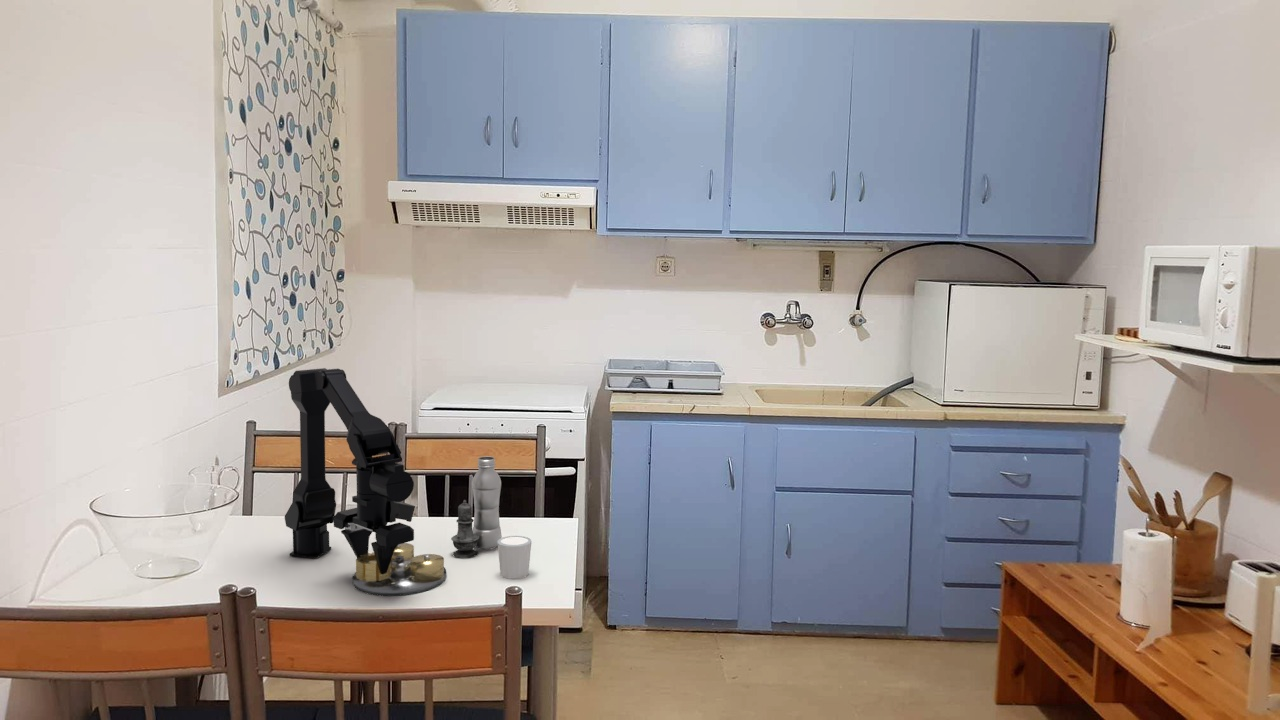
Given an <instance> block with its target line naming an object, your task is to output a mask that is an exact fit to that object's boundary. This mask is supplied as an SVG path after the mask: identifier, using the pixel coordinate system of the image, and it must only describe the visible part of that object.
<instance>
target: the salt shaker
mask: <svg viewBox="0 0 1280 720" xmlns="http://www.w3.org/2000/svg"><path fill="white" fill-rule="evenodd" d="M472 510H473V507H472V505H471V504H470V503H467V500H466V499H463V502H462V503H460V504H459V505H458V506H457V518H458V519H456V523H457V533H456V534H455V535H453V536H452V537H451V538H450V540H451V541H452V545H453V547H454V548H455V549H456V550H455V551H454V552H453V553H452V555H454V556H453V557H455V558H457V557H458V559H468V558H474V557H476V556H478V554H479V552H478V551H477V550H476V549H475V548H476V545H477V543H478V539H479V536H478V535H475V534H473V523H474V518H472V517H473V516H472V515H473V513H472V512H473V511H472Z"/></svg>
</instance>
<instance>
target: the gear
mask: <svg viewBox="0 0 1280 720" xmlns="http://www.w3.org/2000/svg"><path fill="white" fill-rule="evenodd" d="M355 572H356V577H357V579H359V580H362V581H364V580H365V581H377V580H379V581H381V580H384V579H387V578H388V577H391V575H392V558H391V561H390V564H389V567H388V570H387V573H386V574H381V573H380V570H379V568H378V565H377V561H376V558H375V555H374V551H373V552H371V553H370V552H368V553H367V554H363V555H360V556H358V557H356V559H355Z"/></svg>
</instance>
